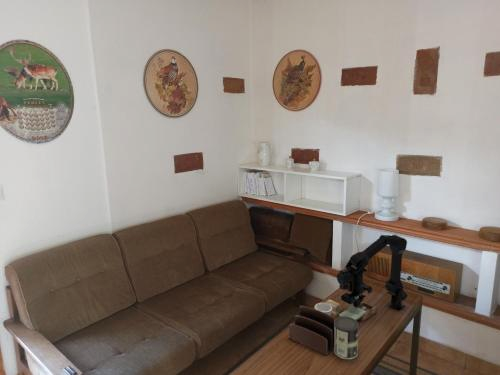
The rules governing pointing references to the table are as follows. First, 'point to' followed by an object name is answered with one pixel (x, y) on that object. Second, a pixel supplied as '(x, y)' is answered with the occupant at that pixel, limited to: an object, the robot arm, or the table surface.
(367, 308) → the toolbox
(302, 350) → the table surface
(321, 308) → the dixie cup
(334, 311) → the block
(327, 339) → the letter holder
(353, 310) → the lid
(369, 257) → the robot arm
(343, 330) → the coffee can
